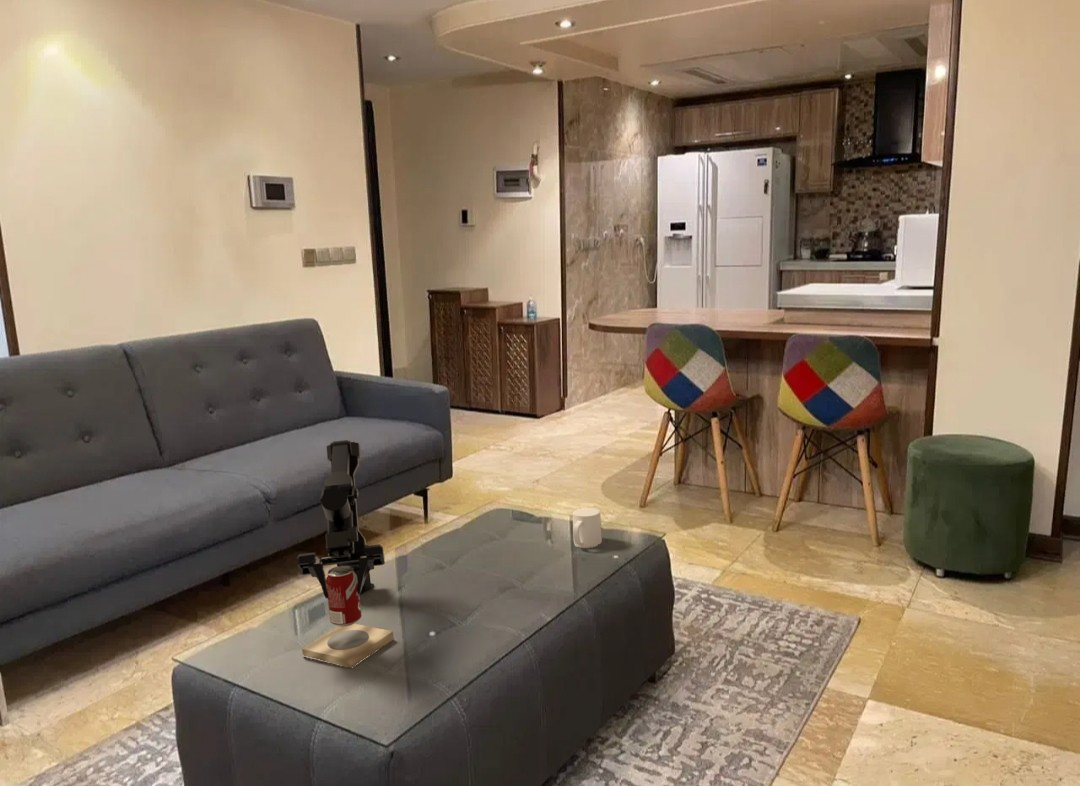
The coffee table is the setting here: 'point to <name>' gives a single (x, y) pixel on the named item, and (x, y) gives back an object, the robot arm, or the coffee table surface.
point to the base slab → (348, 644)
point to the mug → (586, 527)
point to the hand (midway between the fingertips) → (342, 595)
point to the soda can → (343, 596)
